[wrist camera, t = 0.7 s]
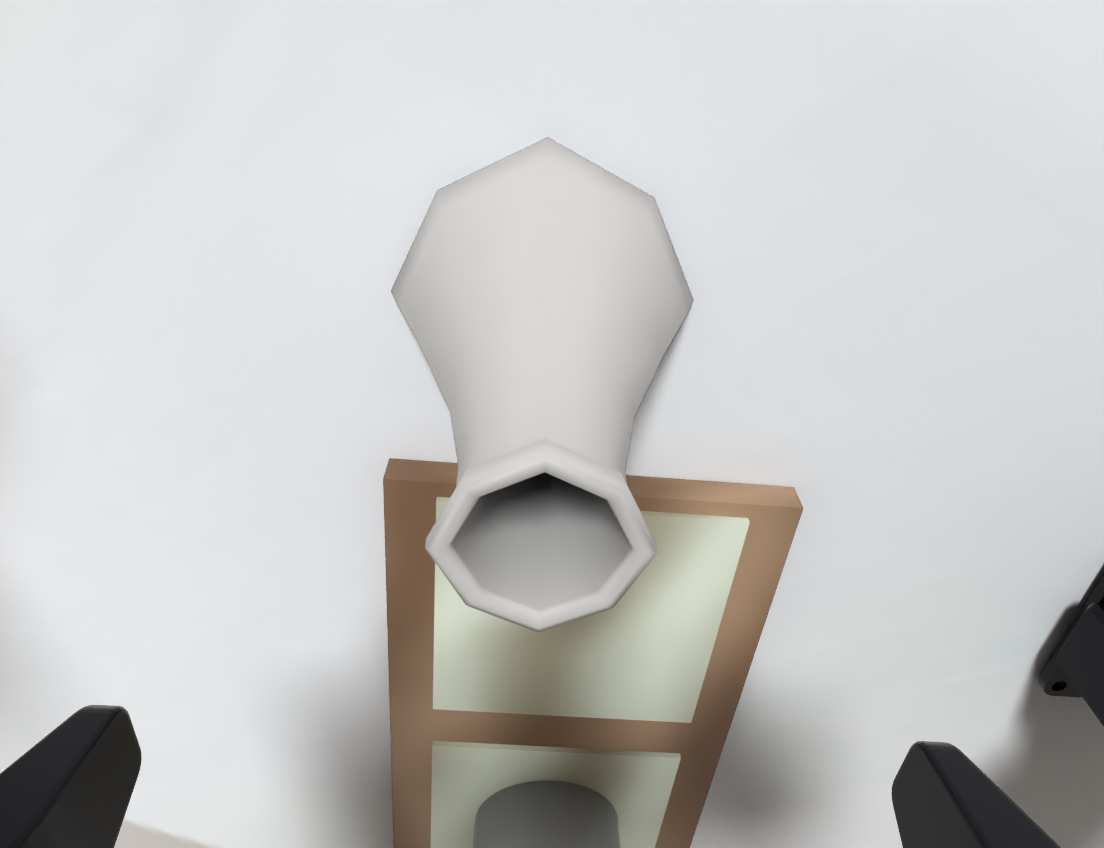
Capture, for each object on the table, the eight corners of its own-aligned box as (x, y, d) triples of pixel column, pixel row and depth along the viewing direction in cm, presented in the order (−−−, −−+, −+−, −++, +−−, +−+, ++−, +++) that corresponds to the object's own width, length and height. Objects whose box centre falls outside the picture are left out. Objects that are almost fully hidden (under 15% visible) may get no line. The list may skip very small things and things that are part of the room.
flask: (537, 456, 22) (533, 768, 14) (342, 285, 19) (184, 544, 11) (741, 297, 20) (889, 559, 11) (549, 73, 17) (554, 198, 8)
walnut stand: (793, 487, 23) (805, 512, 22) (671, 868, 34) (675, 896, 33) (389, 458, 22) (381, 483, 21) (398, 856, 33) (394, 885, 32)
